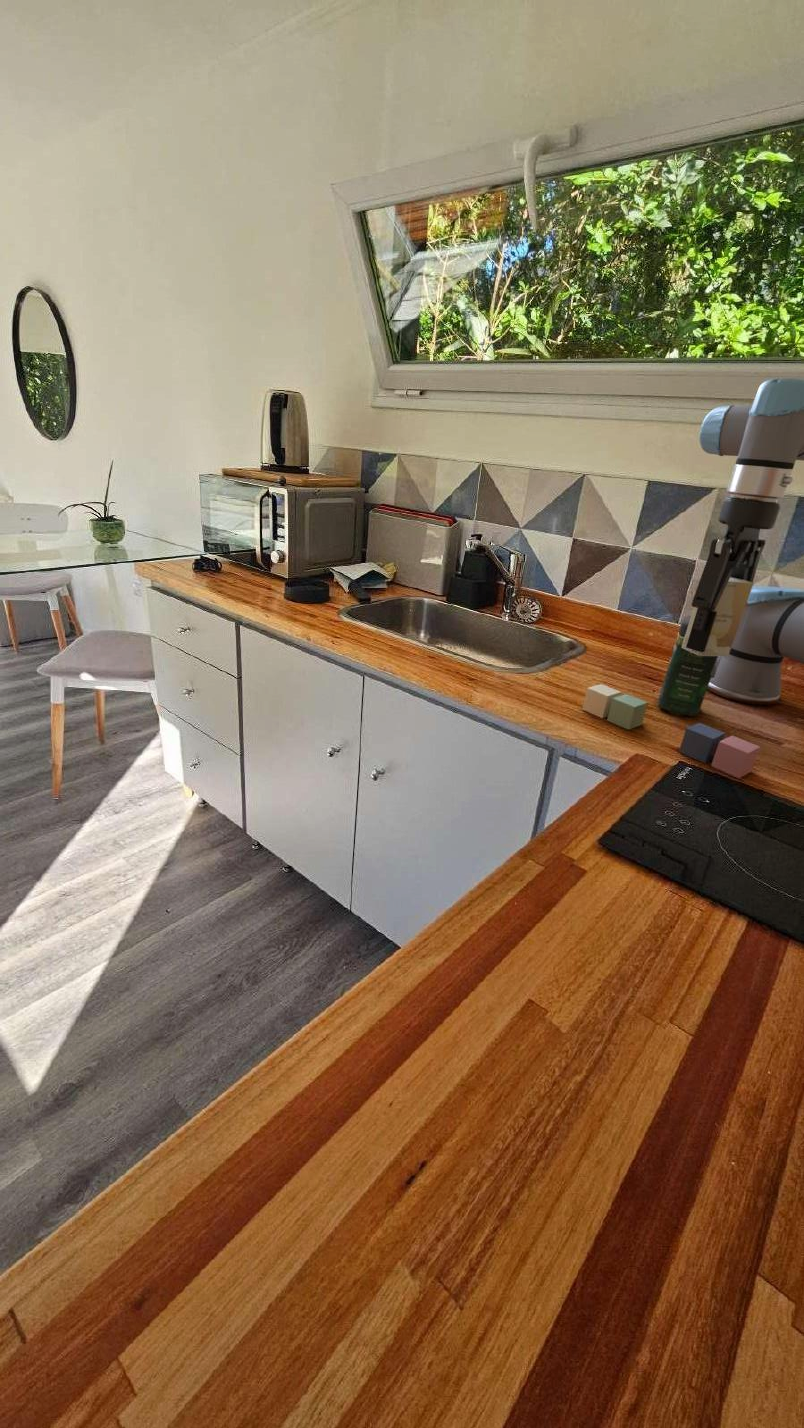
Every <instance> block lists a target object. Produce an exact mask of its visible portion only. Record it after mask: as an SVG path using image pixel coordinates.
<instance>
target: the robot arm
mask: <svg viewBox="0 0 804 1428" xmlns="http://www.w3.org/2000/svg"><path fill="white" fill-rule="evenodd" d="M699 444H700V447H701V449H702V451H703V452H705V453H706V454H709V455H717V456H719V457H724V456H725V457H727V456H728V457H729V456H731V457H737V458H736V460H735V464H734V465H733V466H734V467H733V469H732V472H731V476H730V479H729V482H728V485H727V488H726V493H727V494H729V497H726V498H725V499H724V500H723V503H722V507H721V510H720V513H719V517H718V522H719V523H720V524H722V525H727V528H726V529H725V532H724V534H723V536H722V538H721V539H719V538H713V539H712V540H711V543H710V548H709V553H708V556H707V558H706V562H705V565H704V567H703V570H702V573H701V576H700V579H699V582H698V585H697V587H696V590H695V593H694V596H693V598H692V602H691V607H692V608H694V607H696V608H698V609H697V612H696V616H695V619H694V622H693V626H692V629H691V632H690V636H689V639H688V642H687V646H686V648H689V649H693V650H696V651H699V652H705V649H706V646H707V642H708V639H709V636H710V633H711V630H712V627H713V623H714V620H715V617H716V614H717V612H716V611H714V610H715V608H716V606H717V604H718V602H719V600H720V597H721V595H722V593H723V591H724V589H725V587H726V585H727V583H728V581H729V579H730V577H733V578H738V579H742V580H746V581H749V582H752V583H753V584H754V579H755V576H756V573H757V570H758V569H757V568H758V566H759V562H760V558H761V555H762V552H763V551H764V548H765V545H766V540H765V539H760V531H761V530H771V529H773V528H774V527H775V524H776V521H777V519H778V516H779V512H780V509H781V506H782V505H781V504H780V502H779V503H778V500H781V499H783V498H784V496H785V493H786V490H787V487H788V485H791V484H792V483H793V477H792V476H791V475H792V473H793V469H794V467H795V464H796V462H797V461H802V462H803V461H804V378H797V377H780V378H779V377H778V378H770V379H767V380H765V381H763V382H762V383H761V384H760V385H759V387H758V389H757V392H756V395H755V397H754V400H753V403H752V404H749V405H735V404H730V405H726V406H717V407H714V408H713V409H712V410H711V411H709V412H708V413H707V414H706V416H705V418H704V419H703V421H702V423H701V426H700V431H699ZM784 658H786V659H789V660H792V661H795V662H798V663H801V664H804V589H801V588H792V587H782V586H767V585H766V586H764V585H763V586H762V585H761V586H760V585H759V586H758V585H757V586H756V585H755V586H754V585H753V586H752V589H751V592H750V595H749V598H748V601H747V603H746V606H745V609H744V612H743V615H742V618H741V621H740V624H739V627H738V629H737V632H736V635H735V638H734V641H733V644H732V647H731V649H730V652H729V655H728V656H727V657H725V656H718V658H717V661H716V665H715V667H714V670H713V673H712V676H711V679H710V682H709V685H708V687H707V690H706V691H709V692H711V693H712V694H715V695H717V696H719V697H722V698H725V699H728V700H731V701H735V702H740V703H743V704H748V705H756V706H757V705H759V706H769V705H771V706H772V705H774V704H775V705H776V704H777V703H778V702H779V700H780V697H781V695H782V664H783V662H784Z"/></svg>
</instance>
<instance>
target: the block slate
mask: <svg viewBox="0 0 804 1428" xmlns="http://www.w3.org/2000/svg"><path fill="white" fill-rule="evenodd" d="M725 737H726V732H724V731H722V730H720V729H717V728H714V727H712V726H709V725H707V724H704V723H701V722H698V723H694V724H693V725H690V726H688V727H686V728H685V731H684V734H683V737H682V739H681V744H680V747H679V750H678V753H680V754H682V755H685V756H687V757H689V758H691V759H694V760H696V761H697V762H698V761H699V762H701V763H703V764H706V763H708V762H710V761H713V759H714V756H715V753H716V750H717V747H718V744H719V742H720V741H722V740H724V739H725Z"/></svg>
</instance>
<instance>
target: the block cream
mask: <svg viewBox="0 0 804 1428" xmlns="http://www.w3.org/2000/svg"><path fill="white" fill-rule="evenodd" d="M621 695H622V691H620V690H617V689H615V688H613V687H610V686H608V685H605V684H602V683H600V684H596V685H592V686H588V687H587V688H586V692H585V696H584V700H583V705H582V708H581V709H582V711H585V712H587V713H589V714H591V715H594V716H596V717H598V718H600V719H604V718H608V715H609V711H610V707H611V703H612V699H613V698H615V697H618V696H621Z"/></svg>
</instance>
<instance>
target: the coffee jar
mask: <svg viewBox="0 0 804 1428" xmlns="http://www.w3.org/2000/svg"><path fill="white" fill-rule="evenodd" d="M690 619H691V615H690V616H687V617H685V618H683V620H682V621H681V622H680V627H679V628H678V629H679V630H678V632H677V636H676V638H675V642H674V646H673V649H672V652H671V656H670V659H669V663H668V667H667V668H666V669H667V670H666V672H665V675H664V680H663V682H662V686H661V689H660V692H659V696H658V699H657V705H658V707H659V708H660V709H662V710H664V711H667V712H668V713H670V714H674V715H676V716H689V717H695V716H697V715H698V714H699V712H700V710H701V708H702V705H703V702H704V700H705V696H706V693H707V691H708V690H707V687H708V685H709V682H710V679H711V676H712V673H713V670H714V667H715V665H716V661H717V658H718V656H698V655H696V654H694V653H692V652H690V651H687V650H685V649H683V648H681V647H682V644H683V641H684V637H685V634H686V631H687V628H688V625H689V622H690Z"/></svg>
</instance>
